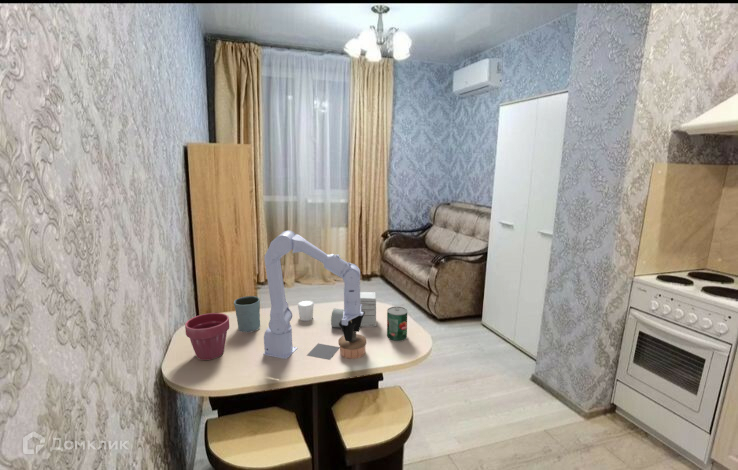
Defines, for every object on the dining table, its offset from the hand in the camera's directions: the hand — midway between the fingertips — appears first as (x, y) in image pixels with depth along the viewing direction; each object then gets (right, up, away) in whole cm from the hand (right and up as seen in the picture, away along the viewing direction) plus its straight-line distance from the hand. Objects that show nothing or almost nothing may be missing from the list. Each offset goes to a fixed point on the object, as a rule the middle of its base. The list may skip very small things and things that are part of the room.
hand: (352, 335), depth 131 cm
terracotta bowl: (0, -6, +1) cm, 7 cm away
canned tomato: (+17, -4, +13) cm, 22 cm away
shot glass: (-22, -1, +30) cm, 37 cm away
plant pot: (-51, -7, +1) cm, 51 cm away
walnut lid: (0, -3, +1) cm, 3 cm away
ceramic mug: (-5, -2, +23) cm, 24 cm away
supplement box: (+5, -2, +25) cm, 26 cm away
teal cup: (-44, -3, +21) cm, 49 cm away
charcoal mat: (-10, -6, +2) cm, 12 cm away
